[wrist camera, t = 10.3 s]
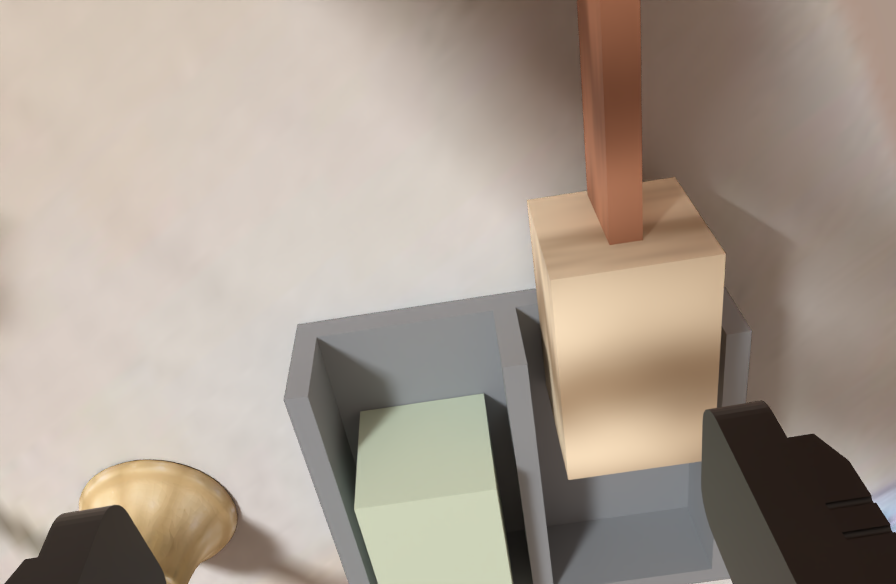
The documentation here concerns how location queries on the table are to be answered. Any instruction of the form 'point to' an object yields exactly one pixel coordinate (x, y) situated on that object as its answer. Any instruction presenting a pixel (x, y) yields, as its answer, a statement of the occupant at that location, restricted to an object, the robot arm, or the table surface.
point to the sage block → (431, 494)
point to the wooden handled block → (624, 280)
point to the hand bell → (168, 511)
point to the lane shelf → (502, 440)
